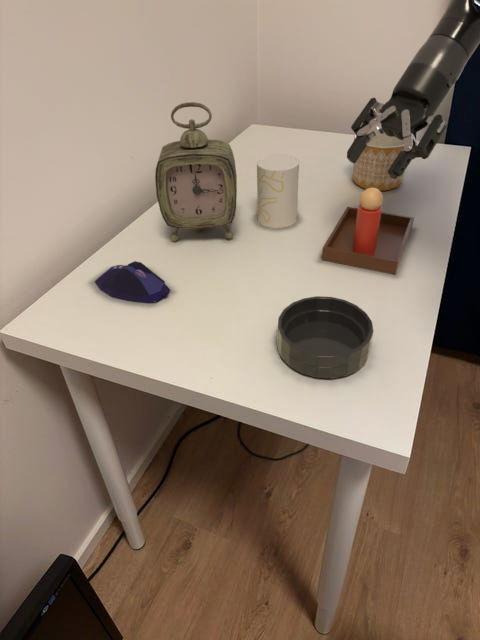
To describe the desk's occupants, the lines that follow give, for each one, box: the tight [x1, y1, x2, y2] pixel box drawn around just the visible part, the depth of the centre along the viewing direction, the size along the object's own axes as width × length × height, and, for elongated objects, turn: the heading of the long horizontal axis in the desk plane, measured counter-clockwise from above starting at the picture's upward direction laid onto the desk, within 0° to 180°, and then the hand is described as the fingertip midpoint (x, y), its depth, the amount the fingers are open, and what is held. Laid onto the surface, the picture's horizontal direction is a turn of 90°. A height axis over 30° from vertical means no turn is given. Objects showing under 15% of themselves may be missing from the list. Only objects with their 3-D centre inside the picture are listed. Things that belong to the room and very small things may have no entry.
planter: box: [352, 131, 406, 192], centre depth 110 cm, size 13×13×10 cm
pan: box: [276, 295, 374, 379], centre depth 69 cm, size 13×13×4 cm
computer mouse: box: [94, 260, 171, 304], centre depth 83 cm, size 9×15×4 cm, turn 58°
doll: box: [352, 188, 384, 256], centre depth 85 cm, size 4×4×12 cm
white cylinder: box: [256, 154, 300, 229], centre depth 97 cm, size 8×8×12 cm
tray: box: [321, 206, 415, 275], centre depth 91 cm, size 17×13×3 cm
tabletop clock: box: [154, 101, 238, 242], centre depth 89 cm, size 14×9×25 cm, turn 90°
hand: (370, 168), depth 77 cm, fingers open, 8 cm apart
